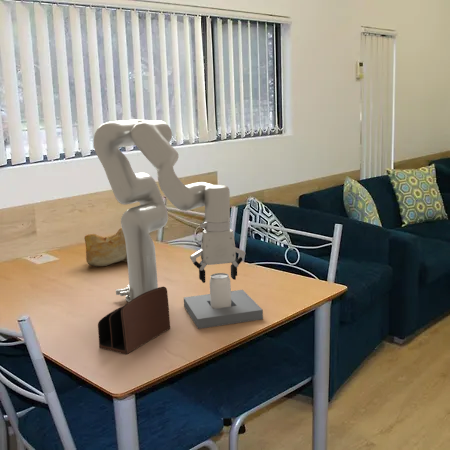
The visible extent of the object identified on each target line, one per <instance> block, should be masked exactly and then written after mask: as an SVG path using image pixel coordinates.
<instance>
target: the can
mask: <svg viewBox="0 0 450 450" xmlns="http://www.w3.org/2000/svg"><path fill="white" fill-rule="evenodd" d="M230 278H231V277H229V274H228V273H225V272H216V273H212V274H211V275H210V279H209V294H210V302H211V307H212V309H217V308H224V307H231V291H232V290H231V289H232V287H231V279H230Z"/></svg>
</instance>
